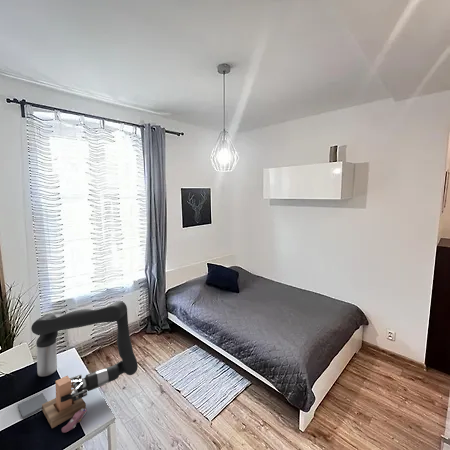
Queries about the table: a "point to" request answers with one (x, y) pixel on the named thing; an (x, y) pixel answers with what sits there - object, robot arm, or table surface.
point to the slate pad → (32, 405)
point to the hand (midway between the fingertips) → (59, 394)
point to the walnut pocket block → (58, 418)
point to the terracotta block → (63, 393)
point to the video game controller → (74, 420)
